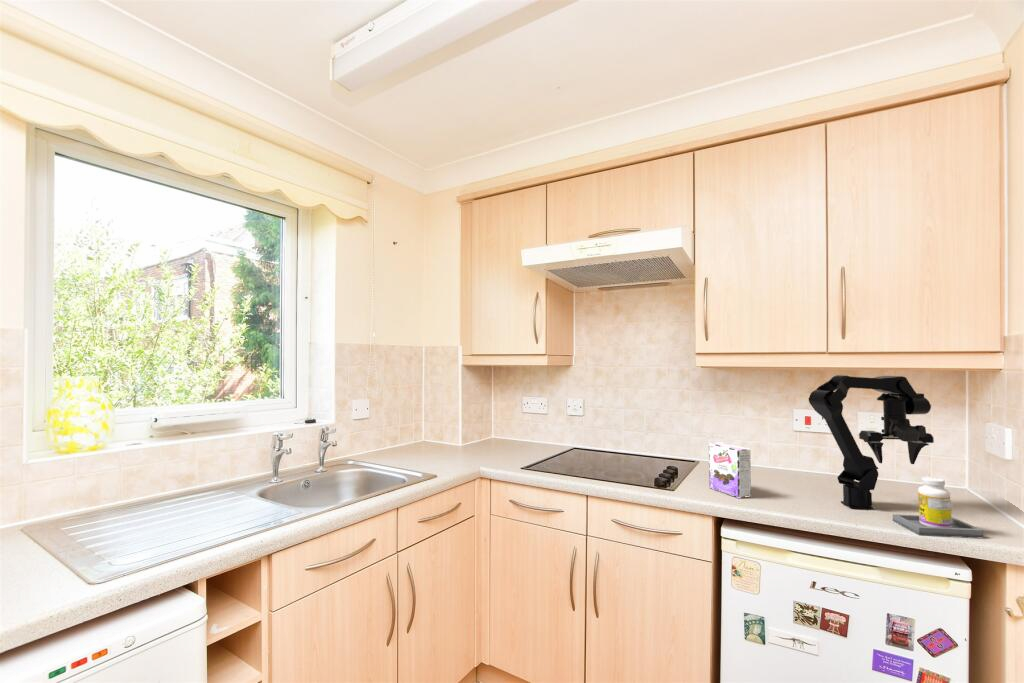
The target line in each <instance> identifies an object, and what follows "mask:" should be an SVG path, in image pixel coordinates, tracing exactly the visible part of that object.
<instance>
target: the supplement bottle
mask: <svg viewBox="0 0 1024 683" xmlns="http://www.w3.org/2000/svg"><path fill="white" fill-rule="evenodd" d="M921 482H922V484H923V485H921V486H919V487H918V488H917V489H918V490H917V493H918V494H917V495H918V497H917V498H918V515H919V521H920V523H921V524H922V525H924V526H926V527H944V528H951V517H952V509H951V508H952V507H951V506H952V505H951V492H950V491H949V490H948V489H946V488H945V485H946V483H945V479H943V478H939V477H934V476H933V477H932V476H924V477H921Z"/></svg>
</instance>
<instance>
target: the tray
mask: <svg viewBox="0 0 1024 683" xmlns="http://www.w3.org/2000/svg"><path fill="white" fill-rule="evenodd" d="M893 521H894V523H895V522H896V523H895V524H897V523H898V524H897V525H899V526H901V527H903V528H904V529H907V530H909V531H910V532H912V533H915V534H916V535H918V536H925V537H927V536H928V537H929V536H930V537H947V538H948V537H951V536H962V537H961V538H968V537H983V538H982V539H984V529H982V528H978V527H977V526H974V525H971V524H969V523H967V522H965V521H963V520H961V519H958V518H956V517H953V516H951V528H944V527H926V526H924V525H922V524H921V523H920V521H919V514H918V515H917V514H900V513H899V514H898V513H895V514H894V513H892V522H893ZM951 538H952V537H951Z"/></svg>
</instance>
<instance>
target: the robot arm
mask: <svg viewBox="0 0 1024 683" xmlns="http://www.w3.org/2000/svg"><path fill="white" fill-rule="evenodd" d="M912 386H913V385H911V383H910V382H909V380H908V379H907V377H905V376H899V375H880V376H875V377H864V376H863V377H862V376H861V377H860V376H859V377H858V376H849V375H841V374H840V375H839V374H837V375H836V374H835V375H833V376H832V377H831V378H830V379H829V380H828V381H826V382H825V383H823V384H821V385H819V386H818V387H817V388H816V389H815V390H813V391H811V392H810V395H809V397H808V402H809V405H810V406H811V407H812V408H813V410H814V411H815V412H816V413H817V414H818V415H819V416H821V417H822V418H823V419H824V421H825V422H826V425H827V426H828V428H829V431H830V432H831V434H832V436H833V439H834V440H835V441H836V442H835V443H836V444H837V446H838V448H839V450H840V452H841V454H842V455H843V462H842V467H843V469H842V471H841V473H840V474H839V475H838V476H837V478H836V479H837V481H838V483H839V484H840V485H842V493H843V494H842V497H843V500H841V501H840V503H841V504H843V505H844V506H846V507H848V508H850V509H853V510H855V509H857V510H874V507H873V499H872V498H873V497H872V496H873V494H872V492H871V491H874V490H875V488H876V485H877V481H878V477H879V471H878V469H879V467H878V466H877V465H876V463H875V462H876V461H875V460H874V458H873V457H872V456H868V455H864V454H863V453H862V451H861V450H860V448H859V446H858V444H857V442H856V440H855V437H854V435H853V434H852V432H851V430H850V428H849V426H848V423H847V422H846V420H845V418H844V416H843V409H844V405H843V401H844V400H845V398H847V396H848V392H849V390H850V389H865V390H866V389H867V390H874V391H876V392H880V393H882V394H881V395H880V396H878V397H877V398H876V401H879V402H880V401H882V404H883V405H882V406H883V416H881V417H880V418H881V421H883V429H881V431H880V432H879V431H875V430H861V431H860V432H859V434H858V437H859V438H858V439H860V440H863V442H865V443H867V444H868V446H869V447H870V449H871V450H872V453H873V454H874V456H875V458H876V460H877V462H878V463H879V464H883V445H884V442H881V441H882V440H900V441H902V442H906V443H907V451H908V460H909V463H910V464H911V465H915V463H916V461H917V459H918V456H919V454H920V452H921V451H922V449H923V448H924V447H926V446H929V445H930V444H934V442H935V441H934V436H933V434H932V433H929V432H927V430H926V427H925V426H924V425H922V424H921V425H919V424H918V425H911V423H910V419H909V418H907V415H909V416H910V415H927V414H928V413H929V412H930V411H931V409H932V404H930V401H929V400H928V399H927V398H926V397H925V394H924V393H919V392H916V391H915V389H914V388H913V387H912Z"/></svg>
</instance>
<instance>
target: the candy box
mask: <svg viewBox="0 0 1024 683" xmlns="http://www.w3.org/2000/svg"><path fill="white" fill-rule="evenodd" d="M751 465H752V464H751V448H747V447H743V446H738V445H733V444H729V443H724V442H721V441H719V442H710V443H708V466H709V467H708V468H709V470H708V474H709V477H708V478H709V480H708V481H709V483H708V484H709V488H710V487H711V488H714V489H717V490H720V491H723V492H725V493H728V494H731V495H734V496H736V497H745V496H751V497H752V492H751V491H752V484H751V483H752V482H751V481H752V480H751V479H752V476H751V474H752V473H751V472H752V471H751V470H752V469H751V468H752V467H751ZM711 488H710V489H711ZM725 493H724V494H725ZM728 494H727V495H728ZM731 495H730V496H731ZM736 497H735V498H736Z"/></svg>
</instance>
